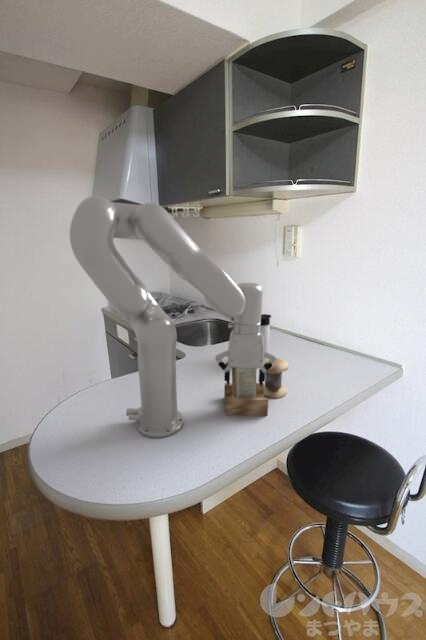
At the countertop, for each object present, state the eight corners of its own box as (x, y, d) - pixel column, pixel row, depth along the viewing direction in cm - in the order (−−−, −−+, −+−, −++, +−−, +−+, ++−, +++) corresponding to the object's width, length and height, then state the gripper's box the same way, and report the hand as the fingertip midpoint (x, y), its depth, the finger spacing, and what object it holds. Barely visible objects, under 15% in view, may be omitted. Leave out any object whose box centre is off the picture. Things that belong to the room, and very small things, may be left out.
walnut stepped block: (225, 415, 91) (225, 400, 89) (224, 397, 100) (224, 383, 99) (267, 415, 91) (268, 400, 89) (262, 397, 100) (262, 383, 99)
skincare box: (250, 394, 98) (251, 358, 94) (256, 402, 94) (257, 364, 90) (230, 398, 96) (231, 360, 93) (235, 405, 92) (236, 366, 89)
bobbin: (260, 398, 100) (262, 369, 97) (257, 384, 108) (258, 357, 105) (289, 398, 100) (291, 369, 97) (283, 384, 108) (285, 357, 105)
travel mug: (268, 367, 122) (270, 317, 116) (251, 366, 123) (252, 316, 117) (268, 361, 127) (271, 313, 122) (252, 359, 129) (254, 312, 123)
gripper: (216, 331, 85) (214, 388, 89) (280, 332, 85) (276, 389, 89) (215, 323, 92) (214, 377, 97) (275, 324, 92) (271, 377, 97)
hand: (244, 383), depth 93 cm, fingers open, 9 cm apart
